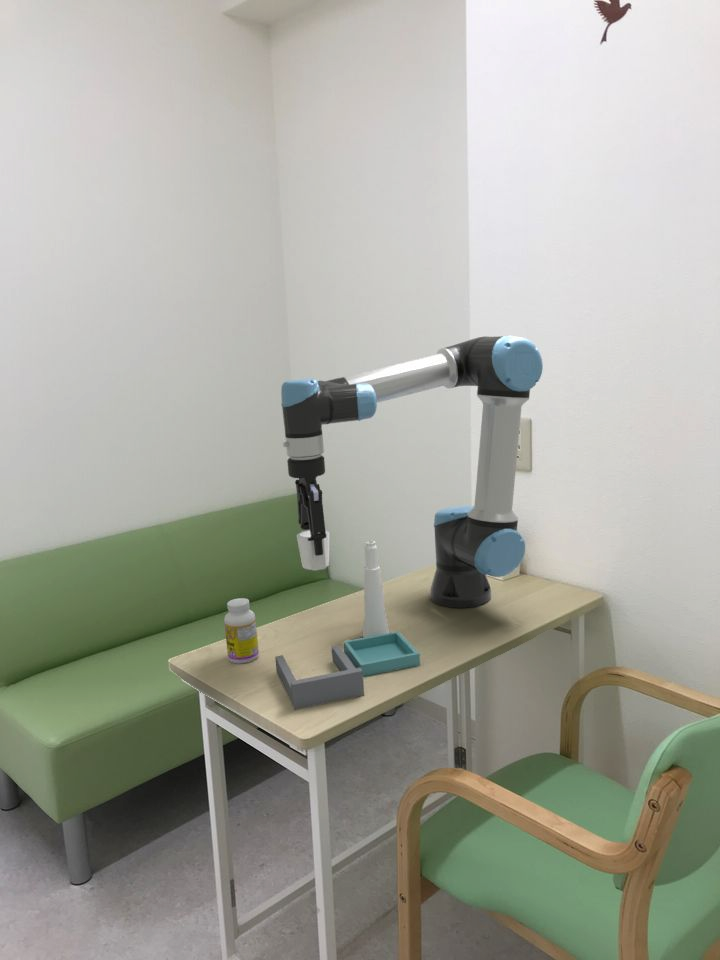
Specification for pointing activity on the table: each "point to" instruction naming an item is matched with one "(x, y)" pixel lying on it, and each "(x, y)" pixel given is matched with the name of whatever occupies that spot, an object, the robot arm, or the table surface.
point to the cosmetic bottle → (373, 594)
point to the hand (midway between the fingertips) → (314, 563)
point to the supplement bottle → (241, 632)
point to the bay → (322, 682)
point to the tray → (381, 653)
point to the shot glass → (306, 550)
